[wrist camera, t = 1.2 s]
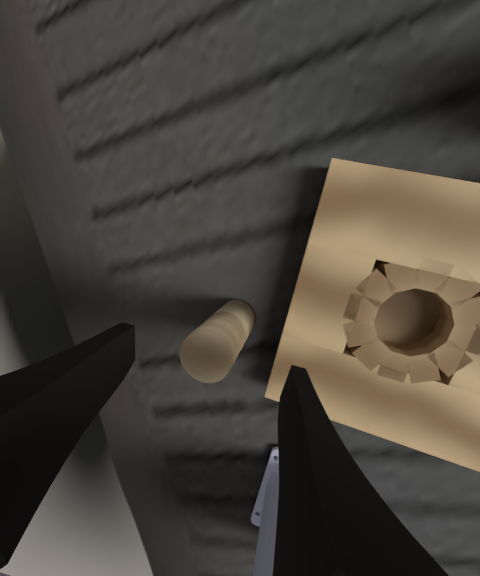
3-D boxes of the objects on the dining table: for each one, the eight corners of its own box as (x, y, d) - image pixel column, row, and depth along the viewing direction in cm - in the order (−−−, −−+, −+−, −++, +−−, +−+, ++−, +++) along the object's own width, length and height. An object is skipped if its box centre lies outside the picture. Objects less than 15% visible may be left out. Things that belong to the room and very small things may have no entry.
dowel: (251, 338, 23) (225, 390, 15) (217, 328, 23) (175, 372, 16) (259, 304, 22) (236, 341, 14) (224, 294, 23) (184, 324, 15)
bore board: (465, 447, 20) (486, 474, 18) (268, 380, 23) (264, 396, 21) (591, 214, 16) (639, 210, 14) (328, 167, 19) (331, 158, 17)
